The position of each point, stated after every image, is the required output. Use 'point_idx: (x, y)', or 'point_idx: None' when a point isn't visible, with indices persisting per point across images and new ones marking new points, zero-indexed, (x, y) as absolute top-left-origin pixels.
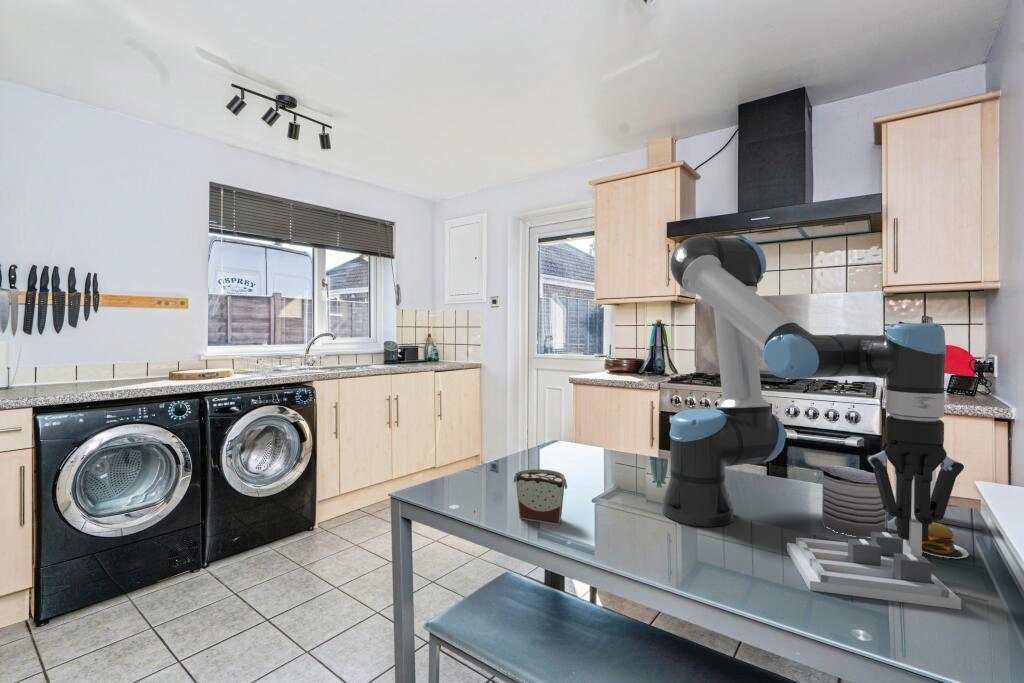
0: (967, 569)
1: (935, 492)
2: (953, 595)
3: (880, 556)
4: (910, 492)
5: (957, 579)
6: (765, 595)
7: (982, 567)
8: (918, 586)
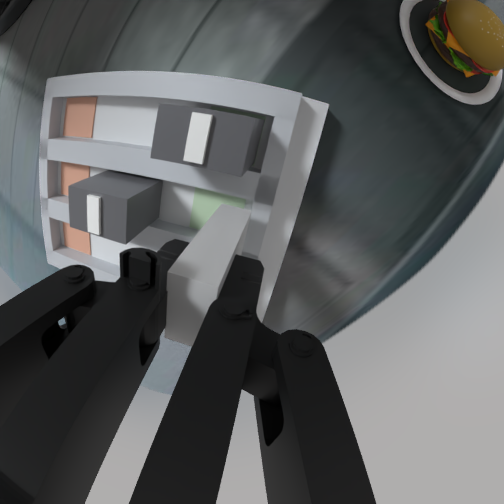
0: (445, 148)
1: (294, 492)
2: (258, 312)
3: (139, 232)
4: (96, 458)
5: (378, 195)
6: (22, 257)
7: (480, 146)
8: None
